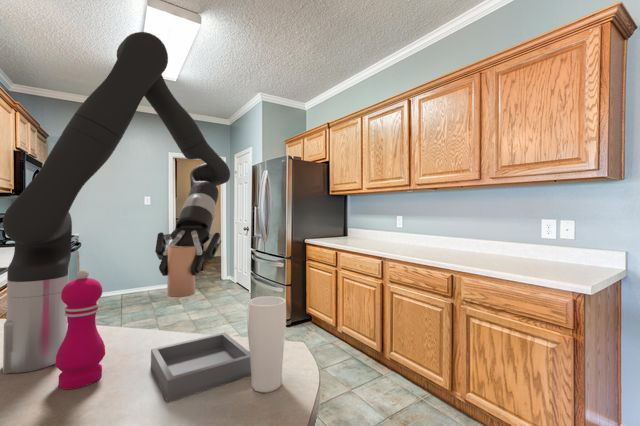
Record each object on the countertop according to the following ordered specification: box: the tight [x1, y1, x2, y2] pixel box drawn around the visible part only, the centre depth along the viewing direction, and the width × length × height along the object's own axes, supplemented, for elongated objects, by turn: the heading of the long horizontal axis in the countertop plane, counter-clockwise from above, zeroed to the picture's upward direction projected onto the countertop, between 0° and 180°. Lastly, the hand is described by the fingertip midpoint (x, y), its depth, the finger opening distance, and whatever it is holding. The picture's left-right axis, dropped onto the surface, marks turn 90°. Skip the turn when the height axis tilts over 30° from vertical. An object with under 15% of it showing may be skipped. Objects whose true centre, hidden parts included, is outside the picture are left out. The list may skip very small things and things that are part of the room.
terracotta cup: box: [166, 245, 197, 298], centre depth 66 cm, size 5×5×10 cm
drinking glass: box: [246, 295, 287, 393], centre depth 55 cm, size 7×7×15 cm
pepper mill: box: [54, 269, 106, 390], centre depth 57 cm, size 7×7×20 cm
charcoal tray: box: [150, 332, 251, 403], centre depth 60 cm, size 15×15×4 cm
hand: (178, 273), depth 64 cm, fingers closed on terracotta cup, 5 cm apart
